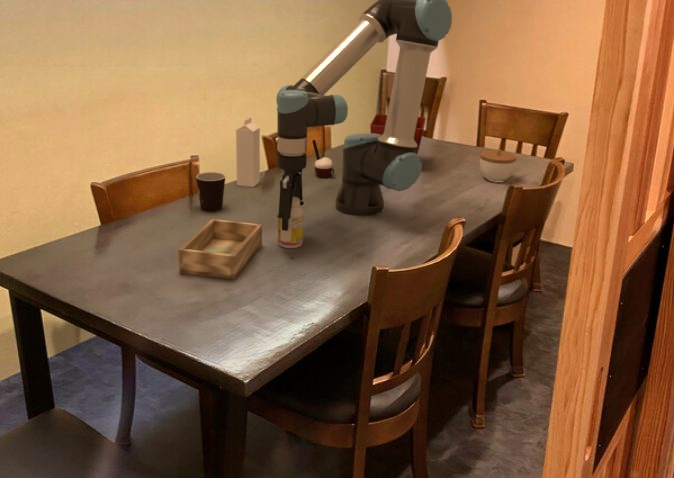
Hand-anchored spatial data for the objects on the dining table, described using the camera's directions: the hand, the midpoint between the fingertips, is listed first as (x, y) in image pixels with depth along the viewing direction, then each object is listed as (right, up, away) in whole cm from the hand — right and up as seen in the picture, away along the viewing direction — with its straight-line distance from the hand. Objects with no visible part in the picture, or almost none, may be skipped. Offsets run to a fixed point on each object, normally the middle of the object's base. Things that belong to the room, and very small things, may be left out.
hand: (290, 234), depth 188 cm
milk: (-17, +17, +48) cm, 54 cm away
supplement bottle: (0, -3, +1) cm, 3 cm away
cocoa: (+7, +21, +60) cm, 64 cm away
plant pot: (+35, +27, +77) cm, 89 cm away
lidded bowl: (+69, +20, +65) cm, 97 cm away
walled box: (-17, -6, -9) cm, 20 cm away
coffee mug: (-25, +8, +26) cm, 37 cm away
